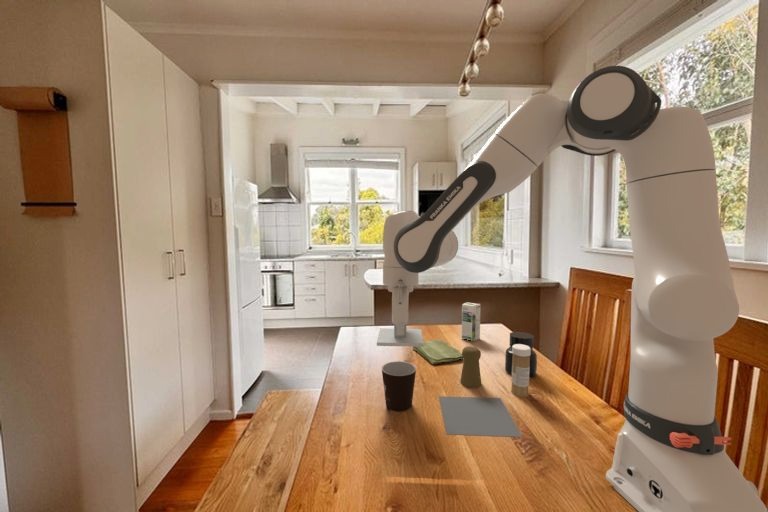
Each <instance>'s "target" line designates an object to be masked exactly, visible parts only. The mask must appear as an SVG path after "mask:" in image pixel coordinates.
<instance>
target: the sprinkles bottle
mask: <svg viewBox="0 0 768 512" xmlns="http://www.w3.org/2000/svg"><path fill="white" fill-rule="evenodd" d="M512 354H513V360H512V375H511V390H510V393H511V394H512V395H513V396H515V397H518V398H526V397H527V398H528V397H529V396H530V395H529V386H530V378H529V372H530V364H529V363H530V355H531V348H530V347H529V346H527V345H523V344H515V345H513V346H512Z"/></svg>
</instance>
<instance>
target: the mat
mask: <svg viewBox="0 0 768 512" xmlns="http://www.w3.org/2000/svg"><path fill="white" fill-rule="evenodd" d="M438 401H439V405H440V409H441V415H442V420H443V424H444V429H445V434H446V435H448V436H449V435H450V436H451V435H452V436H477V437H479V436H480V437H505V438H507V437H508V438H523V434H522V433H521V431H520V430H519V428H518V426H517V425H516V422H515V421H514V419H513V417H512V416H511V414H510V412H509V410H508V409H507V407H506V406H505V405H506V404H505V403H504V402H503V400H502V398H501V397H479V396H478V397H477V396H476V397H475V396H474V397H473V396H472V397H471V396H441V395H439V396H438Z"/></svg>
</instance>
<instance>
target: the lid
mask: <svg viewBox="0 0 768 512" xmlns="http://www.w3.org/2000/svg"><path fill="white" fill-rule="evenodd" d="M422 332H423V331H422V328H407V324H405V325H404V335H397V326H396V324H393V328H386V327H385V328H379V332H378V336H377V340H376V347H411V348H413V347H424V343H423V341H424V340H423V339H424V338H423V334H422Z"/></svg>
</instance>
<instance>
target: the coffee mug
mask: <svg viewBox="0 0 768 512" xmlns="http://www.w3.org/2000/svg"><path fill="white" fill-rule="evenodd" d="M416 373H417V366H415V365H414V364H413V363H411V362H407V361H401V360H397V361H396V360H394V361H389V362H387V363H384V364H383V365H382V366H381V374H382V382H383V391H384V400H385V407H386V409H387V411H388V412H391V411H393V412H398V413H399V412H405V411H408V410H410V409H411V408H412V406H413V398H414V397H413V396H414V391H415V383H416Z"/></svg>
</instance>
